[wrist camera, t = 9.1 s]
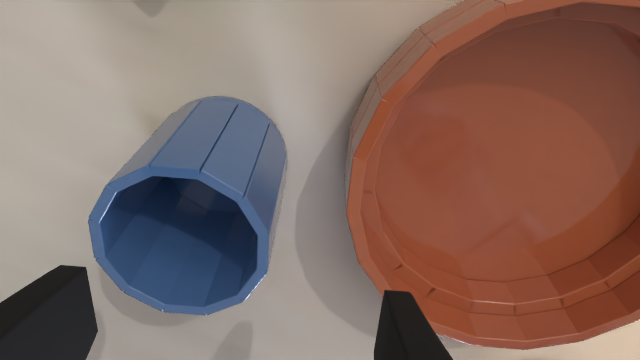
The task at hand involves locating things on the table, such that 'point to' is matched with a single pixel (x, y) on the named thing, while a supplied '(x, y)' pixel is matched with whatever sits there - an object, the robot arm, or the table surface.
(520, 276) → the bowl
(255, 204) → the blue cup
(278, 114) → the table surface
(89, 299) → the robot arm
